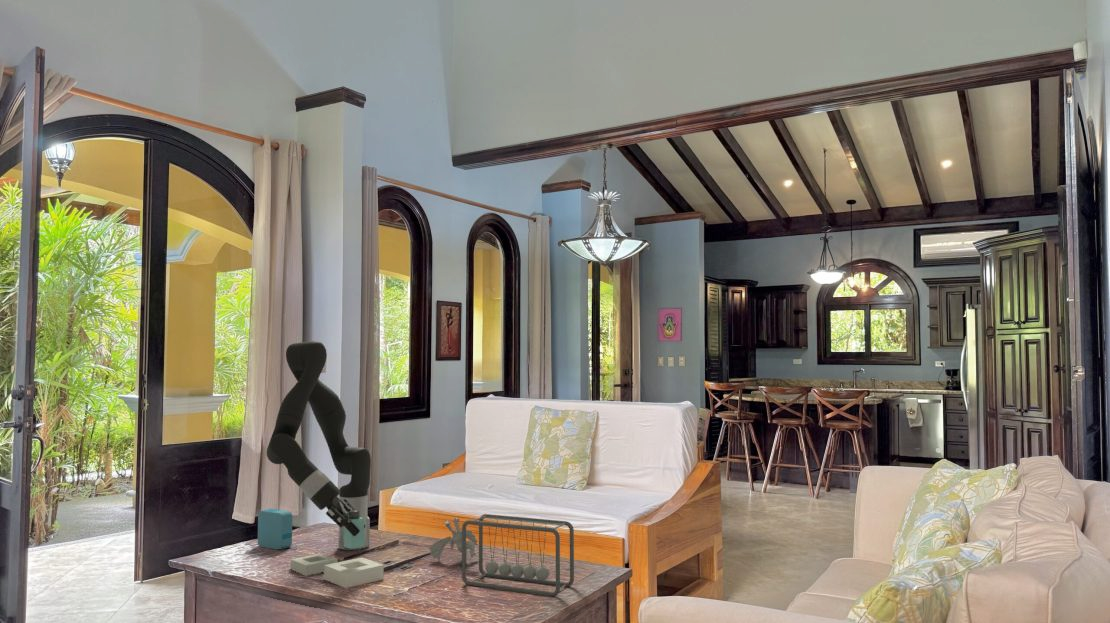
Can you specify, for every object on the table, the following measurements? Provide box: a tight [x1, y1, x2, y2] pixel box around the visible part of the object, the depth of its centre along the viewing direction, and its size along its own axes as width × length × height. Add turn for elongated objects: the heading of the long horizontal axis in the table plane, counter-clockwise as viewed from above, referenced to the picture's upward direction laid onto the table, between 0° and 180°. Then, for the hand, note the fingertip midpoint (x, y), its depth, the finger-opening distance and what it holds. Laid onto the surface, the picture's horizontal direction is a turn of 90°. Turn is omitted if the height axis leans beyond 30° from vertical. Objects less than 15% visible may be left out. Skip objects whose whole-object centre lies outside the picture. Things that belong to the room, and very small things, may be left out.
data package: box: [257, 508, 293, 550], centre depth 255 cm, size 12×4×12 cm, turn 60°
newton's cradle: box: [461, 513, 575, 597], centre depth 209 cm, size 30×10×18 cm, turn 65°
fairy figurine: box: [428, 517, 479, 561], centre depth 234 cm, size 10×18×14 cm, turn 65°
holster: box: [290, 552, 339, 577], centre depth 227 cm, size 10×10×3 cm
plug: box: [344, 510, 364, 549], centre depth 217 cm, size 4×4×10 cm
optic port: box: [323, 556, 385, 589], centre depth 216 cm, size 12×12×4 cm
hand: (360, 531), depth 217 cm, fingers closed on plug, 5 cm apart
